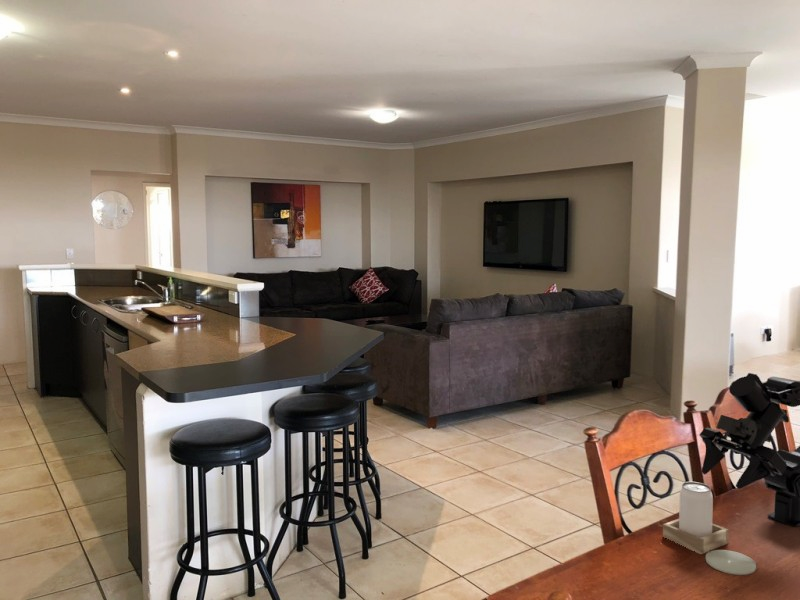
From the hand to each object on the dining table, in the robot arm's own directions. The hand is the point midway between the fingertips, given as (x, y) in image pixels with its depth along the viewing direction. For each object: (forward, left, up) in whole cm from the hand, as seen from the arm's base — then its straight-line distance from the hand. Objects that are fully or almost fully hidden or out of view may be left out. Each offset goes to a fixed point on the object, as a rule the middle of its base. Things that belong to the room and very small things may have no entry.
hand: (719, 480), depth 141 cm
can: (+6, -1, -13) cm, 14 cm away
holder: (+6, -1, -12) cm, 14 cm away
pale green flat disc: (+9, +9, -12) cm, 18 cm away
